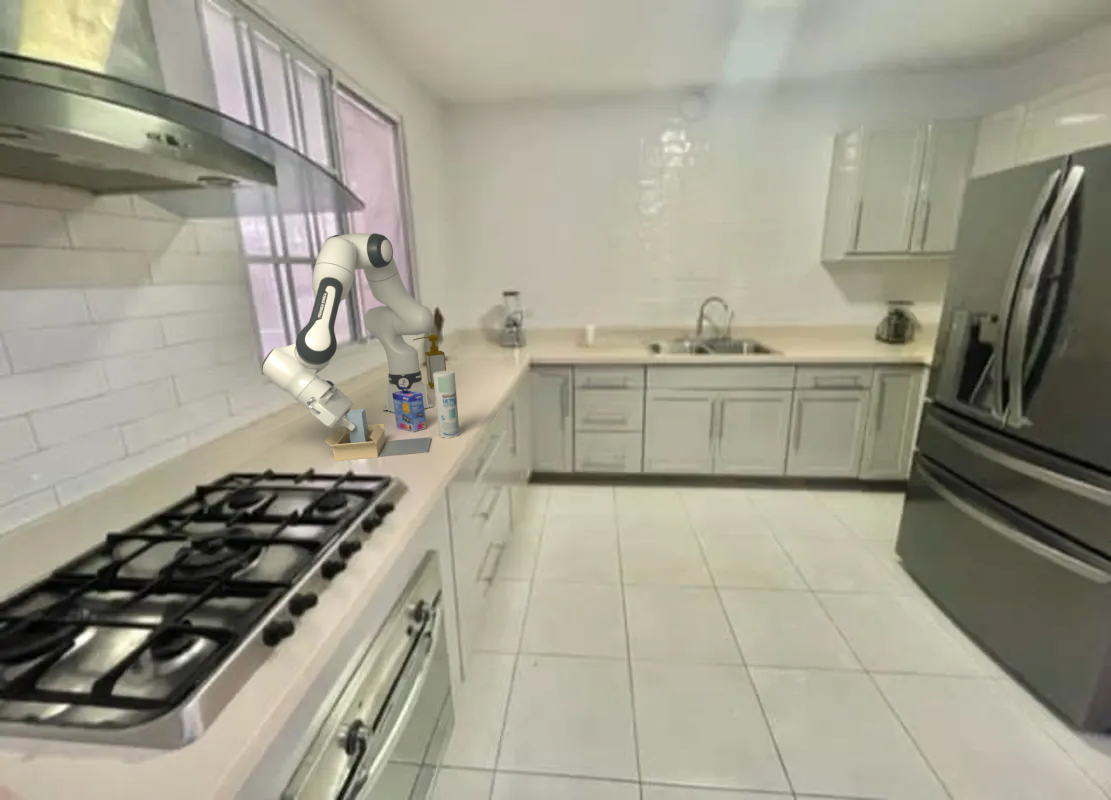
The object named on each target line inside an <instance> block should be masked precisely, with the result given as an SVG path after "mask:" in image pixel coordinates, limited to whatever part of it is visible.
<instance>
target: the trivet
mask: <svg viewBox="0 0 1111 800" xmlns="http://www.w3.org/2000/svg"><path fill="white" fill-rule="evenodd" d="M430 441H432V437H431V436H429V437H420V438H419V437H418V438H405V439H404V438H403V439H393V440H387V441H386V442H385V444H384V446H383V448H382V450H381V452H380V454H379V456H380V457H389V456H401V455H410V454H411V455H412V454H425V453H424V452H426V453H429V450H428V449H429V448H430V446H429V445H431V442H430Z"/></svg>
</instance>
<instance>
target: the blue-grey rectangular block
mask: <svg viewBox="0 0 1111 800" xmlns="http://www.w3.org/2000/svg"><path fill="white" fill-rule="evenodd" d="M346 418H347V420H348V421H350V422H353V423H354V424H356V427H355V428H354V429H353V430H352V431H350V430H349V434H350V441H351V443H360V442H369V437H368V429H367V425H368V423H367V421H368V420H367V414H366V409H365V408H359V409H351V410H350V411H349V412H348V413H347V417H346Z"/></svg>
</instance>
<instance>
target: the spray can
mask: <svg viewBox="0 0 1111 800" xmlns="http://www.w3.org/2000/svg"><path fill="white" fill-rule="evenodd" d="M433 378H434V388H433V389H434V395H435V407H436V415H437V426H438V435H439V437H440V436H441V437H453V438H456V437H455V436H457V437H458V435H459V436H460V424H459V421H460V420H459V412H458V400H457V398H458V397H457V387H456V374H455V371H454V370H446V371H439V372H435V373H433ZM441 437H440V438H441Z"/></svg>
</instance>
